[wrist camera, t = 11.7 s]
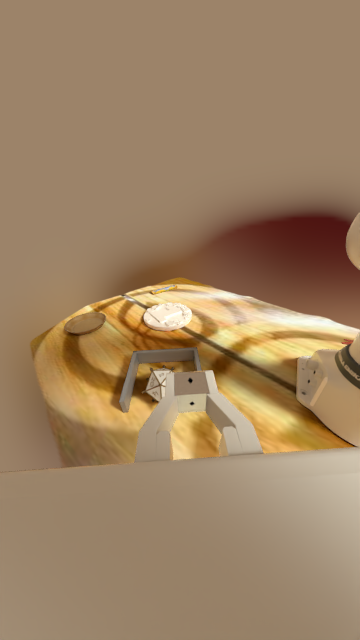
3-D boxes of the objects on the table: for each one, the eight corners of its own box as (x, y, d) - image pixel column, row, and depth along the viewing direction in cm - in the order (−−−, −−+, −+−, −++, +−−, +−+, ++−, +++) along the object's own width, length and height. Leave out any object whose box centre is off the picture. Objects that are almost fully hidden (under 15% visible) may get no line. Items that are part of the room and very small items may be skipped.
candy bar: (174, 286, 101) (174, 283, 100) (178, 288, 98) (178, 285, 97) (149, 293, 93) (149, 290, 92) (153, 295, 90) (152, 292, 89)
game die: (168, 411, 39) (163, 421, 29) (141, 389, 41) (128, 392, 31) (189, 378, 41) (190, 378, 32) (162, 359, 43) (156, 353, 34)
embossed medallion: (143, 311, 75) (142, 305, 74) (184, 305, 79) (183, 299, 77) (146, 336, 59) (145, 330, 57) (198, 327, 62) (198, 320, 61)
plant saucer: (94, 314, 74) (92, 309, 73) (115, 323, 67) (113, 317, 66) (59, 330, 64) (56, 325, 62) (80, 343, 57) (77, 337, 55)
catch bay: (205, 407, 36) (206, 396, 34) (123, 412, 35) (119, 401, 33) (196, 357, 48) (196, 347, 46) (135, 361, 48) (133, 351, 46)
